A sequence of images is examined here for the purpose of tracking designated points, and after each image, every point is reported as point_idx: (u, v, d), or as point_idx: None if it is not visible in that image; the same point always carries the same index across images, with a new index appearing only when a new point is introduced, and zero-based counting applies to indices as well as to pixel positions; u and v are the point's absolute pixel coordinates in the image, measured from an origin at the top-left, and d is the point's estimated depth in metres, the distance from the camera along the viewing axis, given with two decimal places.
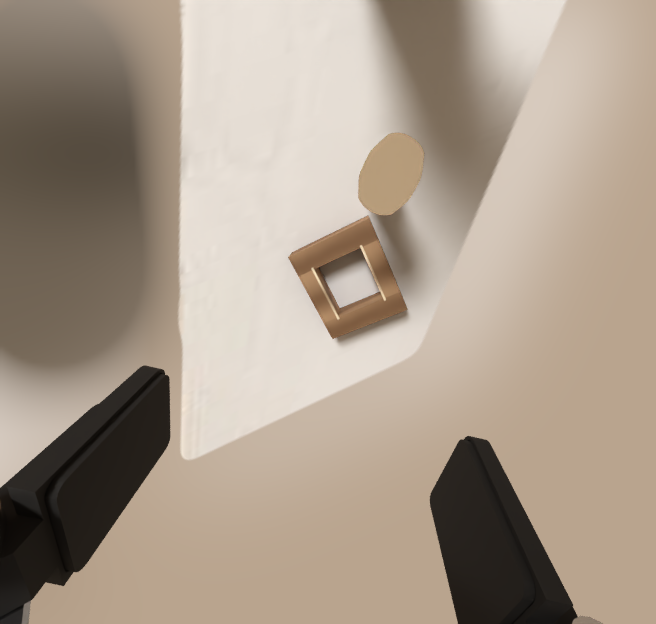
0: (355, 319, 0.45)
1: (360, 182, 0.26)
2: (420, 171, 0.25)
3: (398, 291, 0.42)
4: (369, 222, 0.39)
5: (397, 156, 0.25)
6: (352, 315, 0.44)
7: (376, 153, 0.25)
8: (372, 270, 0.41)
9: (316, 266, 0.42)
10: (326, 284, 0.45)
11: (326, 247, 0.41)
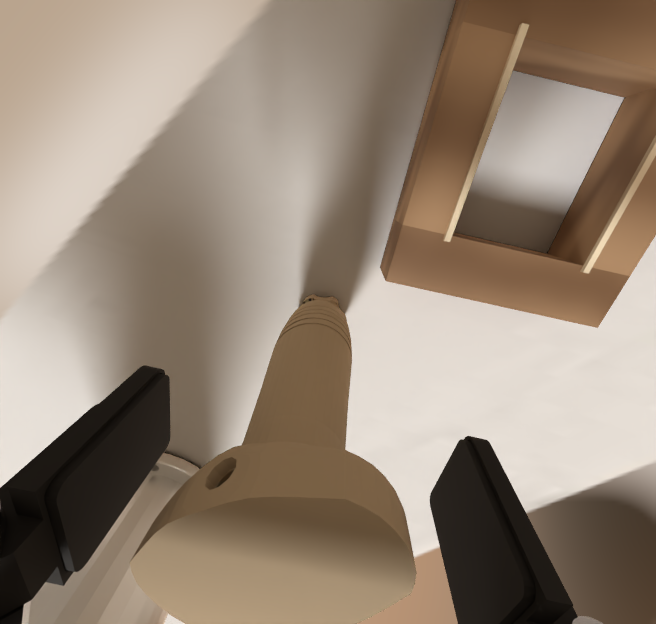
0: None
1: (368, 613, 0.07)
2: (161, 536, 0.06)
3: (466, 26, 0.12)
4: (391, 272, 0.16)
5: (215, 595, 0.07)
6: (653, 44, 0.12)
7: None
8: (475, 158, 0.14)
9: (572, 267, 0.15)
10: (583, 194, 0.16)
11: (512, 290, 0.16)
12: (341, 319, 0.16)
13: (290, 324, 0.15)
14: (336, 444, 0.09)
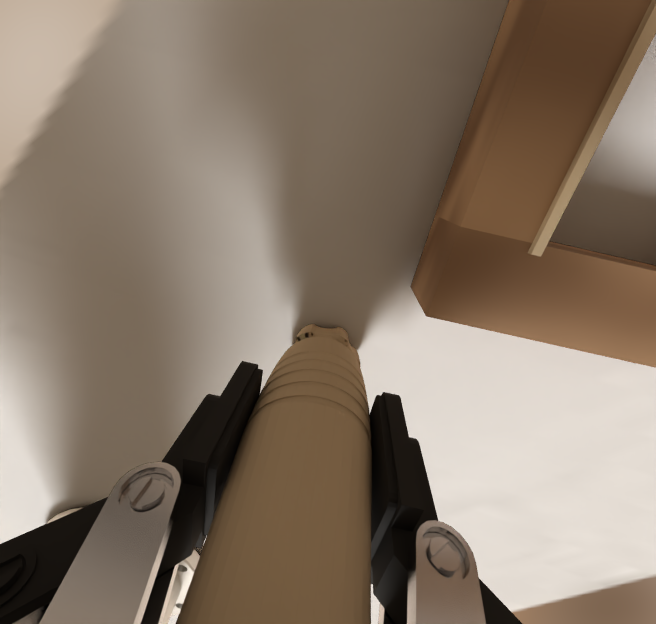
0: None
1: None
2: None
3: None
4: (436, 303, 0.10)
5: None
6: None
7: None
8: (607, 104, 0.07)
9: None
10: None
11: (633, 333, 0.10)
12: (354, 375, 0.10)
13: (271, 390, 0.09)
14: None
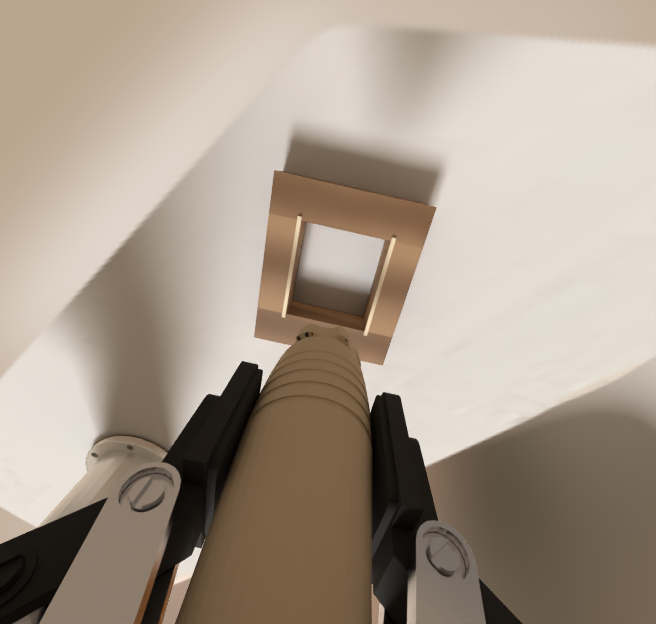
0: (370, 215, 0.22)
1: None
2: None
3: (271, 215, 0.23)
4: (256, 332, 0.27)
5: None
6: (368, 226, 0.23)
7: None
8: (289, 276, 0.25)
9: (358, 332, 0.26)
10: (373, 285, 0.27)
11: None
12: (354, 375, 0.10)
13: (271, 390, 0.09)
14: None
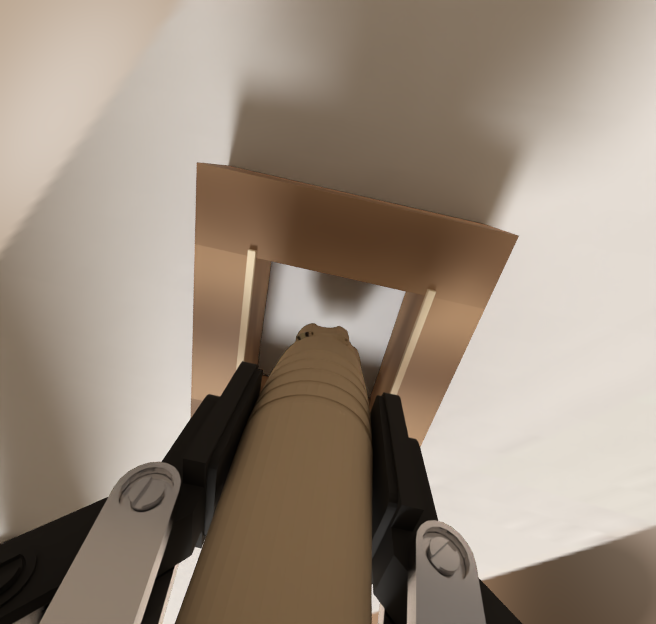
0: (388, 250, 0.12)
1: None
2: None
3: (199, 248, 0.12)
4: None
5: None
6: (383, 268, 0.12)
7: None
8: (240, 351, 0.14)
9: None
10: (386, 356, 0.16)
11: None
12: (354, 374, 0.10)
13: (271, 389, 0.09)
14: None
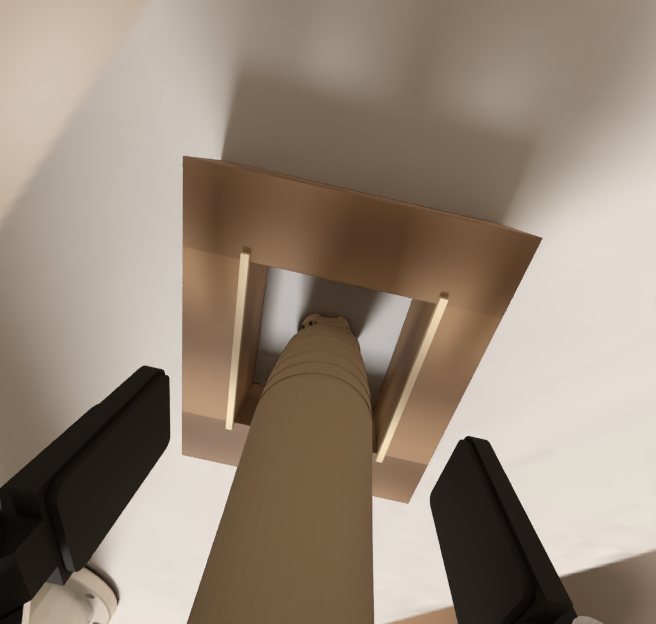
0: (396, 253, 0.10)
1: None
2: None
3: (187, 251, 0.11)
4: (185, 448, 0.15)
5: None
6: (390, 273, 0.11)
7: None
8: (233, 363, 0.13)
9: None
10: (392, 366, 0.15)
11: None
12: (355, 357, 0.11)
13: (281, 370, 0.10)
14: None
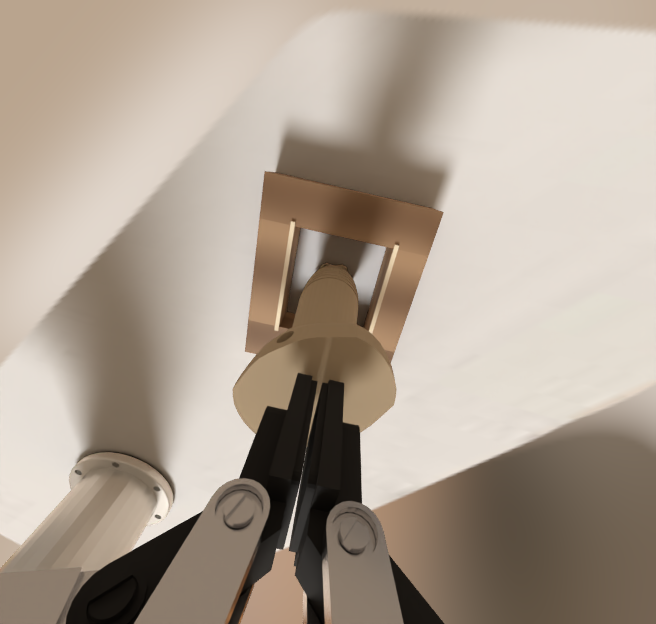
0: (371, 221, 0.20)
1: (369, 422, 0.12)
2: (253, 367, 0.11)
3: (262, 220, 0.21)
4: (247, 346, 0.25)
5: None
6: (368, 232, 0.21)
7: None
8: (282, 286, 0.23)
9: None
10: (373, 296, 0.25)
11: None
12: (350, 278, 0.21)
13: (311, 280, 0.20)
14: None
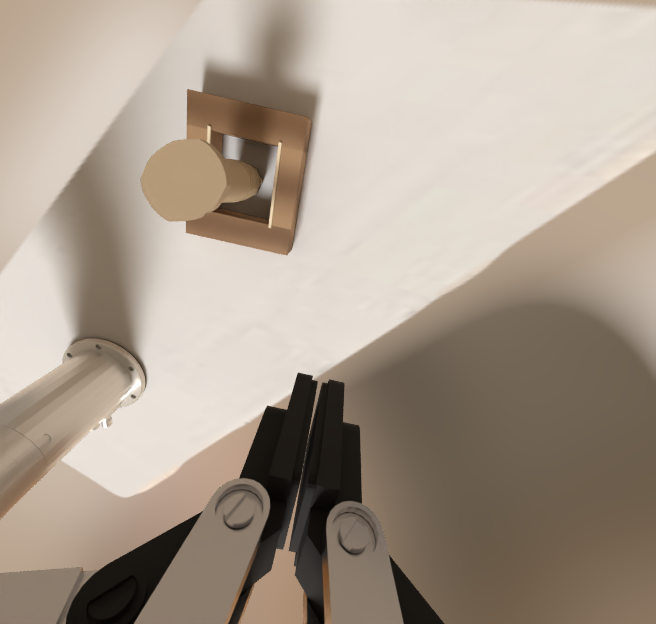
0: (261, 124, 0.30)
1: (216, 199, 0.22)
2: (149, 163, 0.21)
3: (188, 126, 0.31)
4: (187, 228, 0.35)
5: (168, 195, 0.22)
6: (260, 133, 0.30)
7: (187, 213, 0.22)
8: None
9: (264, 225, 0.34)
10: None
11: (242, 236, 0.35)
12: (250, 167, 0.31)
13: None
14: None
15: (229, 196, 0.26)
